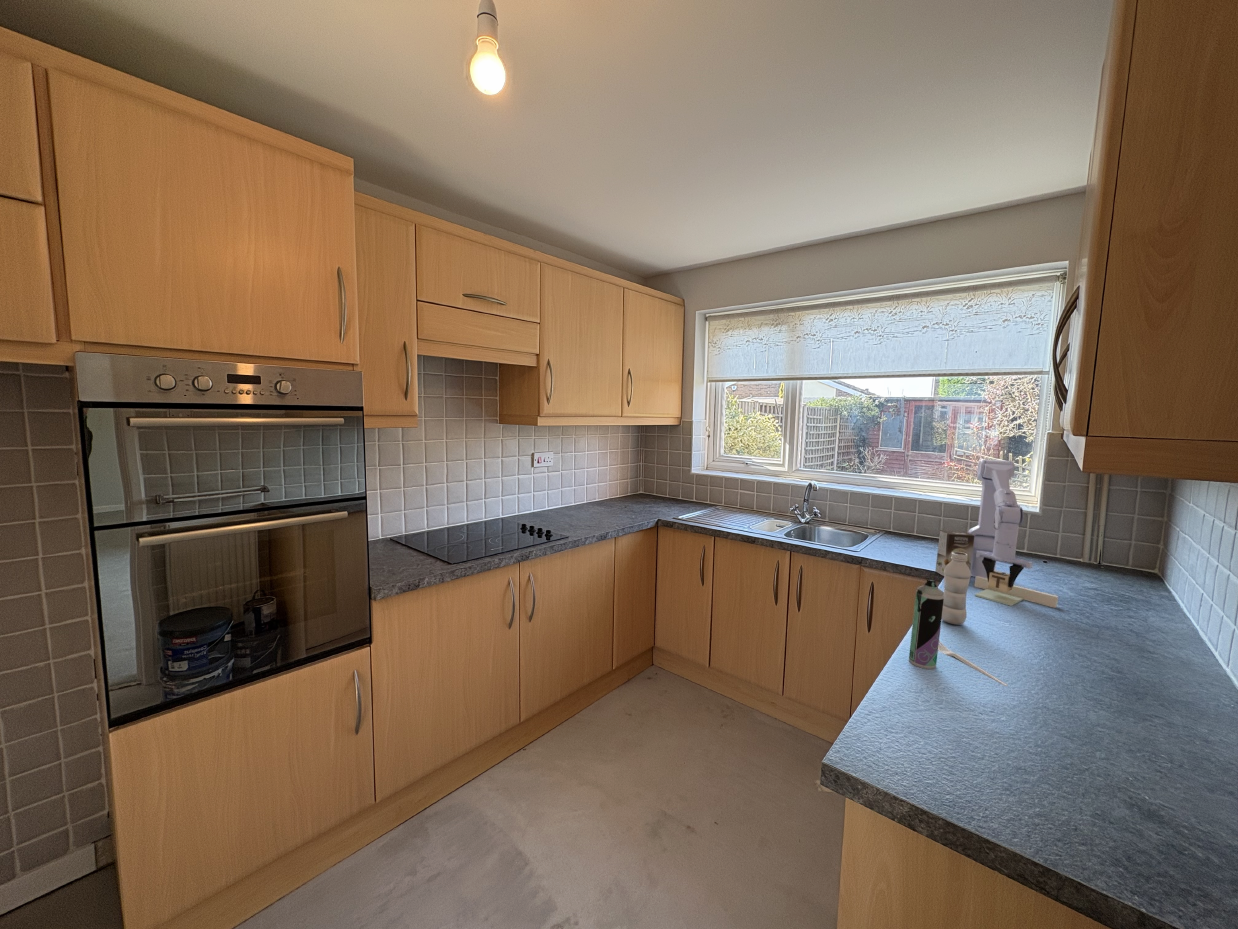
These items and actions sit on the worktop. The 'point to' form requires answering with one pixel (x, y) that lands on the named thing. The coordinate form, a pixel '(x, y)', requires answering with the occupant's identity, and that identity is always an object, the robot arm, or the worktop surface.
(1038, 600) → the cream board
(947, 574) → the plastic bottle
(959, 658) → the fork
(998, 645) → the worktop surface
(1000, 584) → the lettered cube
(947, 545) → the coffee box
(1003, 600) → the pad
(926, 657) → the spray can
